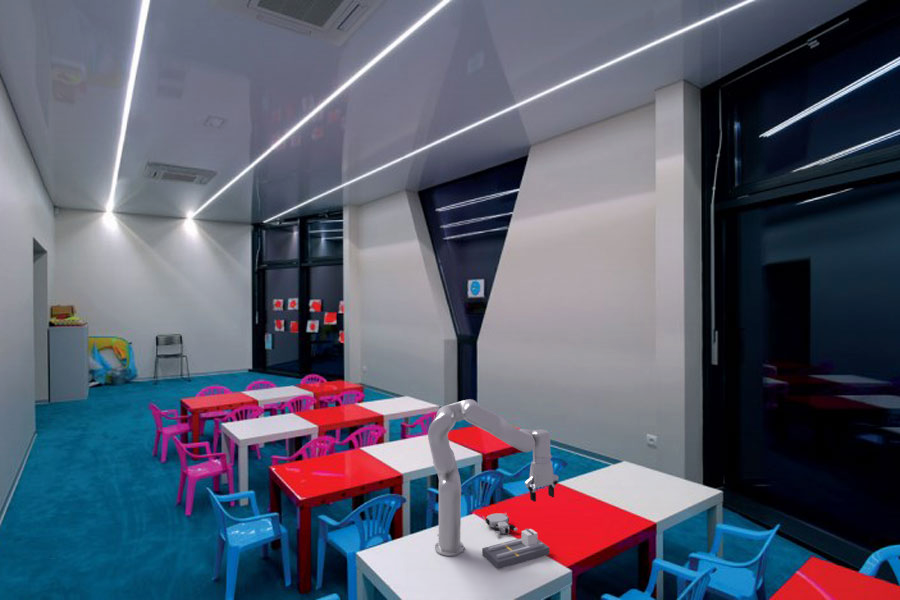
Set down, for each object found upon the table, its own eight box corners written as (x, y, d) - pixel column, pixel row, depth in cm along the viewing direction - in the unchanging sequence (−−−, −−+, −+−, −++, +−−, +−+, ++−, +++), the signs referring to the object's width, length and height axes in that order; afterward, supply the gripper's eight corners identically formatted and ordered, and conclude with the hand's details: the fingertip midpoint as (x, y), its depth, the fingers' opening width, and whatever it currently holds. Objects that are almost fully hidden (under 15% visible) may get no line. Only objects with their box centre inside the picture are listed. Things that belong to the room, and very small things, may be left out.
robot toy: (519, 535, 220) (504, 519, 234) (519, 526, 220) (505, 510, 234) (495, 540, 216) (481, 523, 230) (495, 530, 216) (482, 514, 230)
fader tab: (521, 542, 206) (521, 529, 206) (530, 539, 208) (530, 527, 208) (528, 547, 201) (528, 534, 201) (537, 544, 204) (537, 532, 204)
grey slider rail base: (482, 555, 201) (482, 545, 201) (532, 541, 213) (532, 532, 213) (497, 569, 190) (497, 559, 190) (549, 554, 202) (549, 545, 202)
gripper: (552, 453, 215) (552, 491, 214) (520, 459, 207) (520, 499, 207) (563, 458, 208) (563, 497, 208) (530, 464, 200) (531, 505, 200)
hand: (542, 498), depth 207 cm, fingers open, 9 cm apart
